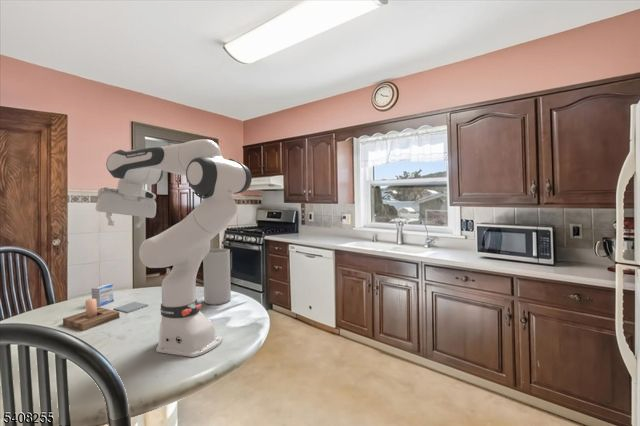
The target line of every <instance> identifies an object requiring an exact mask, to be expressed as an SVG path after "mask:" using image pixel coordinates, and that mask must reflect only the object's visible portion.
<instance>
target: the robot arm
mask: <svg viewBox="0 0 640 426" xmlns="http://www.w3.org/2000/svg"><path fill="white" fill-rule="evenodd" d="M105 167H106V169H107V171H108V172H109V174H110V175H111V176H112V177H113V178H114V179H118V183H117V188H109V187H102V188H100V189H99V190H98V191H97V198H98V199H97V202H96V205H95V210H96V211H97V212H99V213H105V217H106V219H107V225H108V226H110V227H113V226H114V225H115V221H114V220H113V219H112V216H113V214H115V215H125V216H132V217H139V219H138V220H139V222H136V223H135V224H134V225H135V226H134V228H135V229H141V227H142V224H143V223H144V222H145V220H146V218H149V219H154V218H155V216H156V214H157V202H156V198H157V195H156V194H155V193H153V192H152V191H149V190H148V189H145V184H146V185H156V184H157V183H159V182H161V180H162V179H163V176H164V172H167V173H170V174H174V175H179V176H185V178H186V180H187V183H188V184H189V187H190V188H191V189H192V191H194V194H195V195H196V196H197V197H198V198H200V199H202V201H201V202H200V203H199V204H198V205H197V206H196V207H194V209H193V210H191V212H190V213H189V214H188V215H186V217H184V218H183V219H182V220H180V221H179V222H178V223H176V224H174V225H172V226H170V227H169V228H168V229H165V230H164V231H162V232H160V233H159V234H156V235H154V236H152V237H149V238H147V239H145V240H143V242H142V243H141V245H140V246H139V251H138V256H139V259H140V261H141V263H142V264H143V265H144V266H145V267H147V268H149V269H157V268H158V269H159V268H160V269H161V268H162V269H163V268H168V267H171V266H172V268H171V271H170V272H169V273H168V274H167V275H166V276H165V277H164V279H163V280H162V281H161V304H160V315H161V321H160V325H159V329H158V330H159V331H158V332H159V333H158V342H157V347H156V349H155V351H156V353H163V354H170V355H176V356H184V357H193V358H194V357H198V356H201V355H204V354H206V353H207V352H210V351H211V350H213V349H215V348H216V347H218V346H219V345H221V343H222V341H223V336H221V335H219V334H216V328H215V326H214V323H213V322H212V321H211V319H209V318H207V316H206V315H205V314H204V313H202V312H201V308H202V307H203V306H202V303H199V302H198V300H197V298H196V296H197V295H196V290H197V287H196V286H197V284H196V283H197V282H196V281H197V274H198V272H199V268H200V267H201V263H203V259H204V257H205V256H206V255H207V254H208V253H209V251H210V249H211V241H212V240H213V238H215V237H216V236H217V235H218V234H219V233H221V232H222V231H223V230H224V229H225V228H226V227H227V226H228V225H229V223H230V222H231V221H232V219H234V217H235V215H236V214H237V210H238V206H237V202H236V200H235V199H234V198H233V196H232V195H233V194H234V195H237V194H242V193H244V192H246V191H247V190H249V188H250V186H251V184H252V180H253V179H252V173H251V170H250V169H249V168H248V166H246V165H245V164H243V163H241V162H239V161H237V160H235V159H232V158H229V159H226V158H224V157H223V156H222V150H221V148H220V146H219V145H218V144H217V143H216V142H214V141H213V140H211V139H205V138H204V139H202V138H201V139H196V140H195V139H194V140H193V139H192V140H190V141H186V142H183V143H177V144H173V145H172V144H171V145H165V146H164V145H163V146H156V147H148V148H147V147H146V148H141V149H130V150H123V149H118V150H116V151H113V152H112V153H110V154H109V156H108V157H107V160H106V163H105Z"/></svg>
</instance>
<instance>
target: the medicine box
mask: <svg viewBox="0 0 640 426" xmlns="http://www.w3.org/2000/svg"><path fill="white" fill-rule="evenodd" d="M114 298H115V297H114V284H113V283H105V284H101V285H98V286H95V287H93V288H91V299H96V303H97V307H103V306H104V305H107V304H110V303H112V302H114V300H115V299H114Z"/></svg>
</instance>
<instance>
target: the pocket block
mask: <svg viewBox="0 0 640 426" xmlns="http://www.w3.org/2000/svg"><path fill="white" fill-rule="evenodd" d="M119 318H120V311H117V310H114V309H113V310H112V309H108V308H103V307H101V306H97V316H96V317H93V318H90V319H86V311H83V312H80V313H76V314H72V315H70V316H66V317H63V318H62V325H63V326H67V327H70V328H72V329H76V330H79V331H82V332H83V331H86V330H89V329H90V330H91V329H93V328H95V327H98V326H100V325H103V324H106V323H108V322H111V321H114V320H116V319H119Z"/></svg>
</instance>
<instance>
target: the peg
mask: <svg viewBox="0 0 640 426" xmlns="http://www.w3.org/2000/svg"><path fill="white" fill-rule="evenodd" d="M97 308H98V306H97V303H96V299H92V298H90V299H85V312H86V319H90V318H93V317H96V316H97Z"/></svg>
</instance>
